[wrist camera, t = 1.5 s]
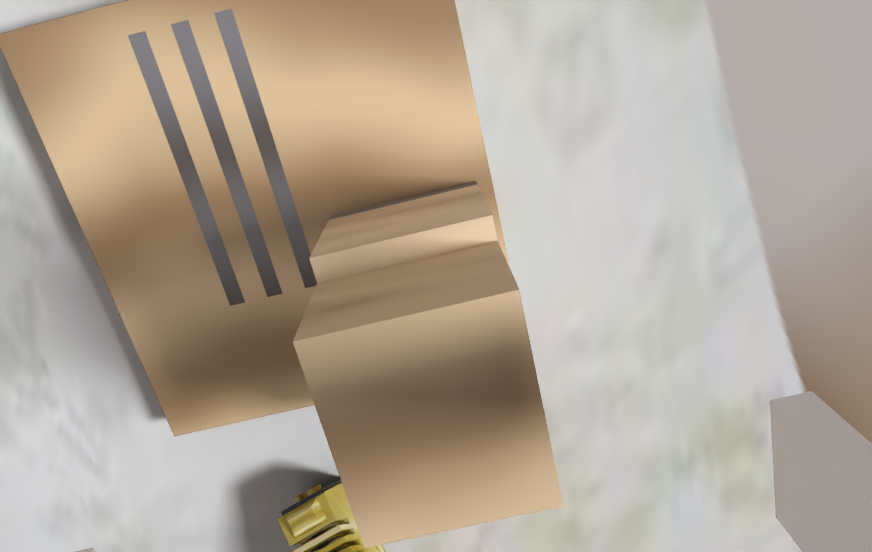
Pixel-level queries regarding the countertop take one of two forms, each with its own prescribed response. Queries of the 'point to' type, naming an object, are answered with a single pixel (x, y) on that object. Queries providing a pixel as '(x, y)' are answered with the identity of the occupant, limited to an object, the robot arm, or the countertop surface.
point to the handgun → (323, 522)
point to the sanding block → (425, 369)
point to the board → (240, 165)
